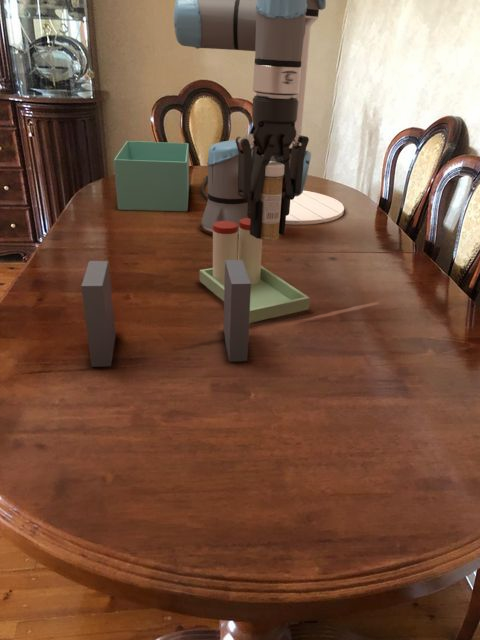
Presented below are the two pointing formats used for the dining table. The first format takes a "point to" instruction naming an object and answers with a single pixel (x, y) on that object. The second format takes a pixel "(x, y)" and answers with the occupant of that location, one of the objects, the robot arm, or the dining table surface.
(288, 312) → the tray
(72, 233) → the dining table surface
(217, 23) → the robot arm
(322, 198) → the lazy susan
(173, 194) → the box
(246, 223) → the spice bottle
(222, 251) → the spice bottle
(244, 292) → the grey upright slab
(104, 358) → the grey book front
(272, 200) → the sprinkles bottle
